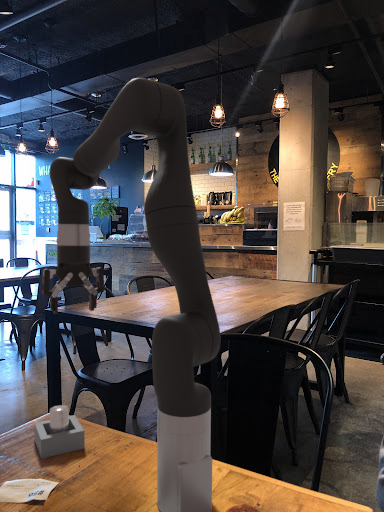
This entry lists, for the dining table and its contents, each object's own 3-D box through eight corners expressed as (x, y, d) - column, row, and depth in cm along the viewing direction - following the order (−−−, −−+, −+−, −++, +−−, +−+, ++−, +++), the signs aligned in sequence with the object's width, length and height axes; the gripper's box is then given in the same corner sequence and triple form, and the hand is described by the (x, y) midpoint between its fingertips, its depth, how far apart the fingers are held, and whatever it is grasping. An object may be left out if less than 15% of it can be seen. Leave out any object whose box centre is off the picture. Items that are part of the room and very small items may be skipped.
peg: (70, 446, 93) (70, 410, 93) (51, 450, 91) (51, 414, 91) (66, 438, 97) (66, 404, 96) (48, 442, 95) (48, 407, 94)
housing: (84, 448, 92) (84, 430, 92) (41, 458, 88) (41, 439, 88) (74, 431, 100) (74, 415, 100) (34, 440, 96) (34, 422, 95)
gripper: (45, 244, 94) (45, 316, 94) (107, 244, 100) (107, 311, 101) (39, 243, 100) (40, 311, 101) (98, 243, 107) (98, 307, 108)
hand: (73, 311), depth 101 cm, fingers open, 8 cm apart
